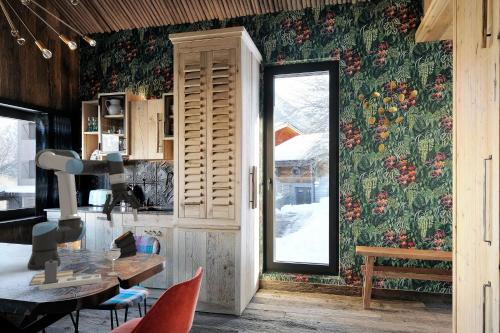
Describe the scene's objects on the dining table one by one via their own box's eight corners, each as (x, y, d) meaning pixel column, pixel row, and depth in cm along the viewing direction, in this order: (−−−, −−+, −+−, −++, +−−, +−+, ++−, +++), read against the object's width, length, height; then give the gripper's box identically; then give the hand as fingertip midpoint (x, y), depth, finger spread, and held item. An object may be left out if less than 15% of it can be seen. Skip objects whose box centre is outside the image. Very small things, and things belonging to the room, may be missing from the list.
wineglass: (105, 276, 160) (106, 251, 161) (105, 272, 166) (106, 248, 167) (120, 274, 163) (120, 250, 163) (120, 271, 169) (120, 247, 169)
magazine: (141, 251, 206) (132, 231, 201) (123, 264, 196) (113, 243, 192) (138, 250, 208) (129, 230, 204) (120, 263, 199) (110, 242, 194)
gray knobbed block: (45, 285, 145) (46, 259, 145) (56, 284, 147) (57, 258, 147) (44, 288, 141) (45, 262, 141) (56, 287, 143) (56, 261, 143)
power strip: (40, 286, 145) (41, 279, 145) (100, 279, 156) (100, 273, 156) (38, 291, 139) (39, 284, 139) (101, 283, 150) (101, 277, 150)
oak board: (35, 276, 159) (35, 274, 159) (72, 272, 166) (72, 270, 166) (30, 286, 145) (30, 283, 145) (71, 281, 152) (71, 279, 152)
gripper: (98, 184, 155) (105, 229, 155) (143, 179, 175) (149, 218, 174) (90, 186, 160) (97, 230, 159) (135, 181, 180) (141, 219, 179)
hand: (124, 224), depth 167 cm, fingers open, 13 cm apart
